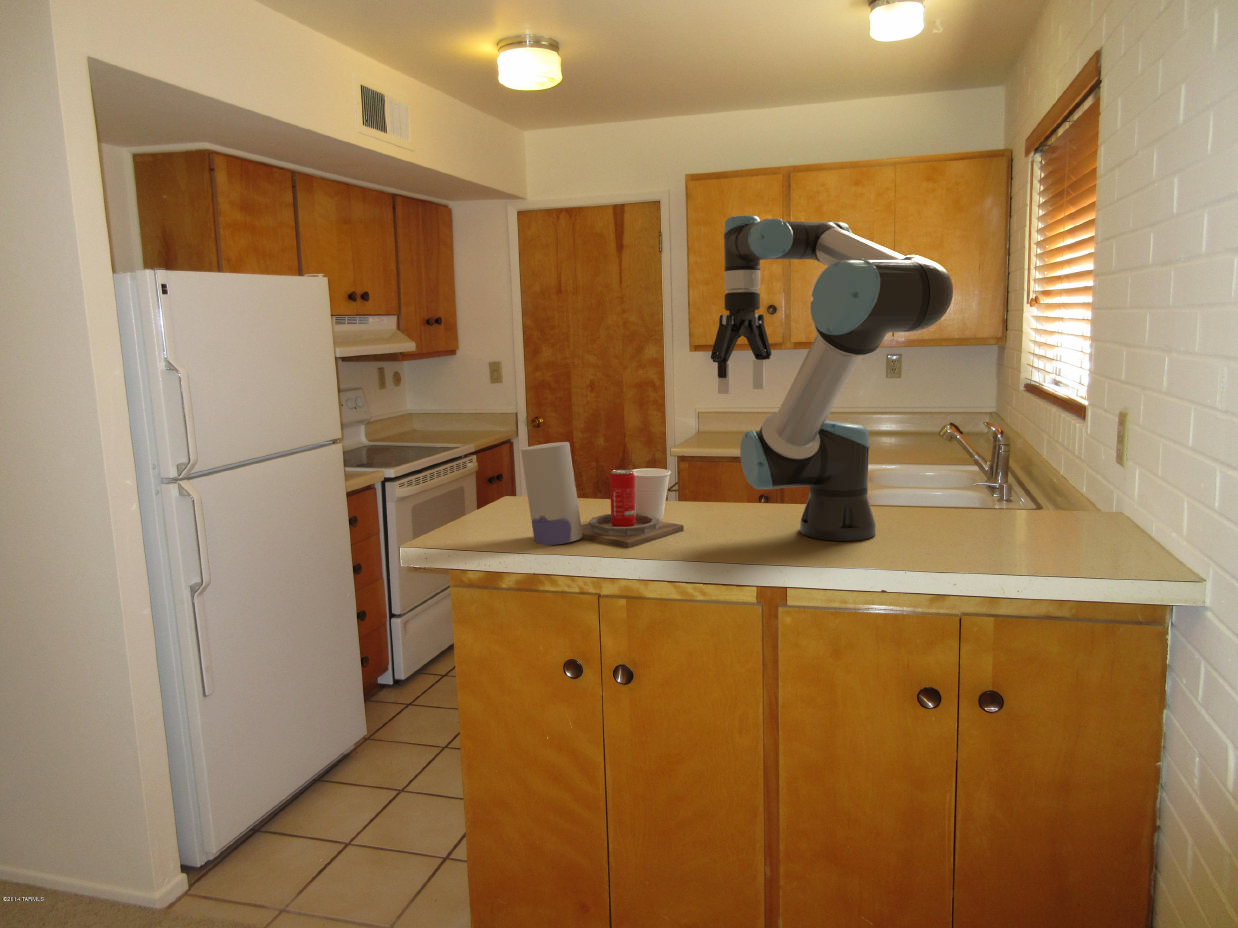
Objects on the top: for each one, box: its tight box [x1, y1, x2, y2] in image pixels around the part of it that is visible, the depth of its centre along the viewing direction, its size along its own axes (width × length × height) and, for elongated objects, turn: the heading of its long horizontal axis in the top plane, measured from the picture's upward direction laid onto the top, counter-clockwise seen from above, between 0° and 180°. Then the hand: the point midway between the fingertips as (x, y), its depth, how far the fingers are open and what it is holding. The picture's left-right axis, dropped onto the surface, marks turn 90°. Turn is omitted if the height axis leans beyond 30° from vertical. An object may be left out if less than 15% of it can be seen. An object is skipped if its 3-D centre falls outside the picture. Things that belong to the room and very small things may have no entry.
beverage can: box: [609, 469, 636, 527], centre depth 179 cm, size 5×5×12 cm
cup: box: [631, 467, 672, 521], centre depth 191 cm, size 10×10×11 cm
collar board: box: [580, 513, 685, 549], centre depth 180 cm, size 18×18×3 cm
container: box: [520, 441, 583, 546], centre depth 175 cm, size 10×10×20 cm
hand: (742, 391), depth 185 cm, fingers open, 13 cm apart
